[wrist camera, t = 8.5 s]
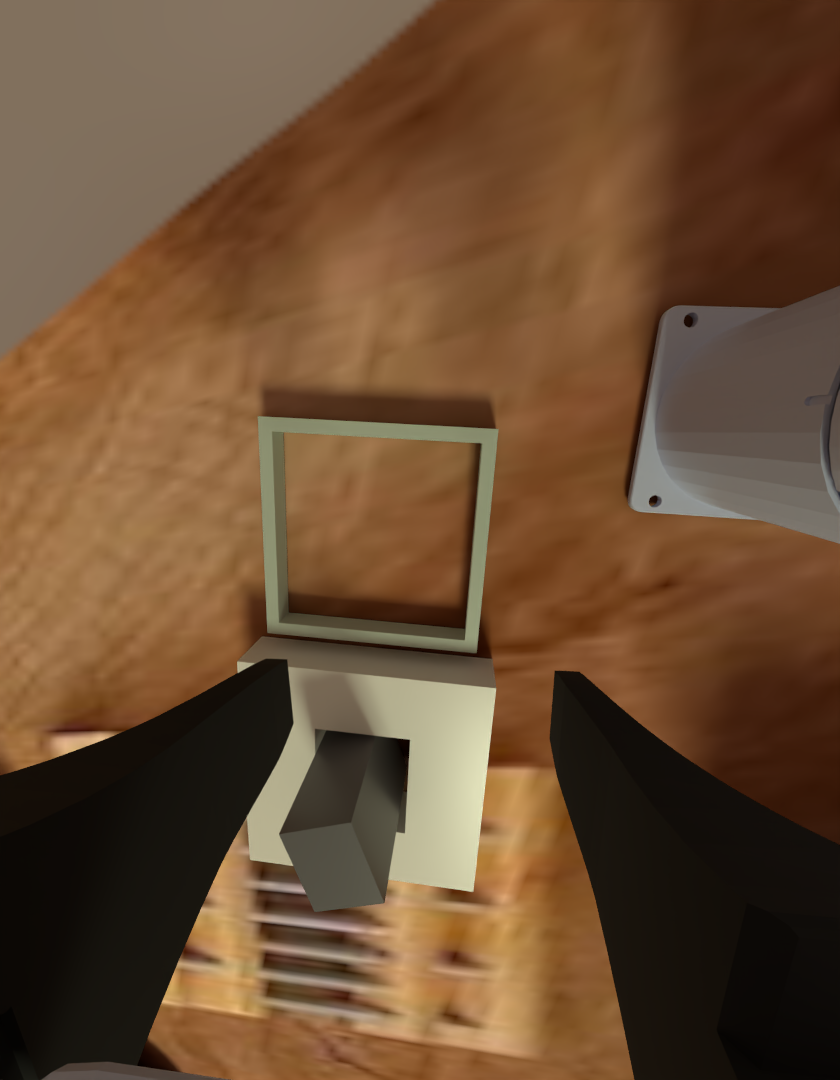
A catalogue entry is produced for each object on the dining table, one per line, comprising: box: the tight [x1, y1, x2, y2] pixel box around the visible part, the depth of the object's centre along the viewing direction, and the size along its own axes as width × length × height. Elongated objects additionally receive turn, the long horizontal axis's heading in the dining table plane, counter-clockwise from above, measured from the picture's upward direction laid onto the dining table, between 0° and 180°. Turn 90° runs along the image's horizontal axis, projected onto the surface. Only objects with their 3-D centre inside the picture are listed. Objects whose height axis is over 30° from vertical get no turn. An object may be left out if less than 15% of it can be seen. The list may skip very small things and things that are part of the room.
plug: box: [279, 730, 407, 912], centre depth 20 cm, size 3×4×7 cm
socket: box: [237, 636, 496, 892], centre depth 22 cm, size 12×12×2 cm
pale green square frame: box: [258, 416, 498, 653], centre depth 19 cm, size 10×10×1 cm
